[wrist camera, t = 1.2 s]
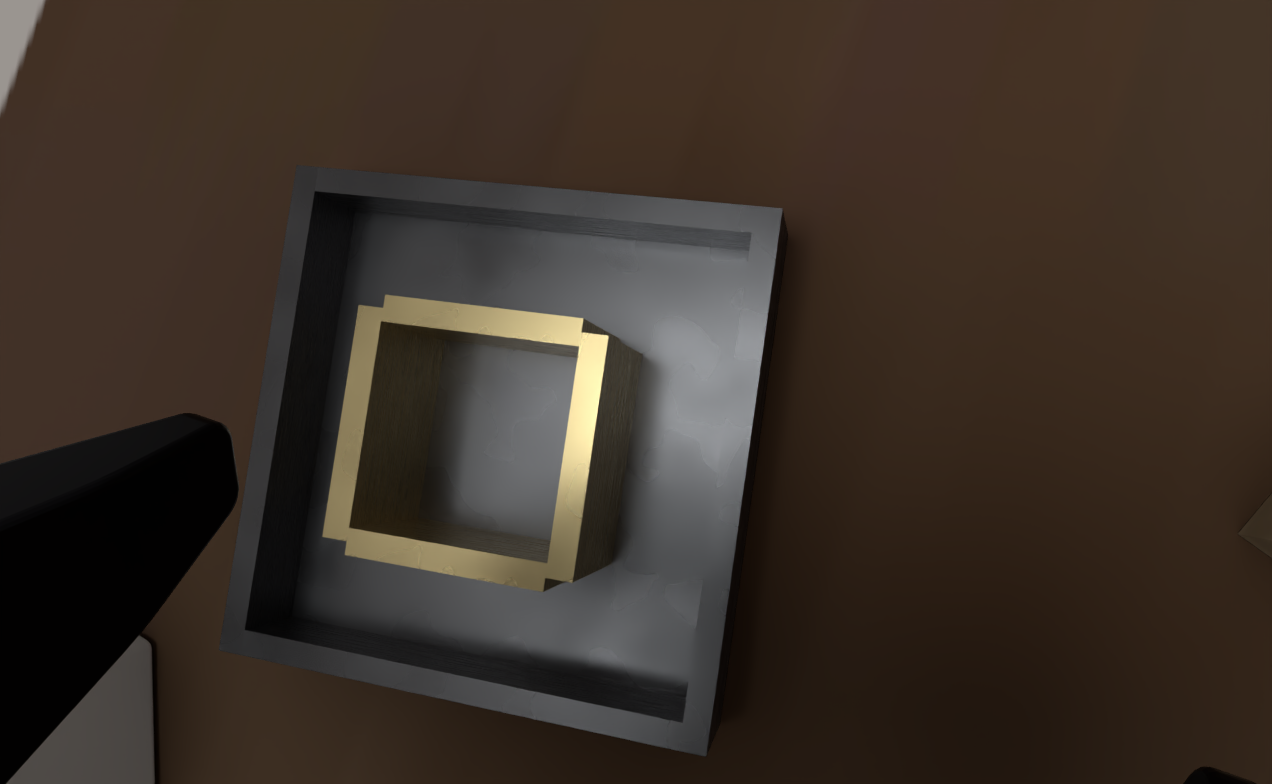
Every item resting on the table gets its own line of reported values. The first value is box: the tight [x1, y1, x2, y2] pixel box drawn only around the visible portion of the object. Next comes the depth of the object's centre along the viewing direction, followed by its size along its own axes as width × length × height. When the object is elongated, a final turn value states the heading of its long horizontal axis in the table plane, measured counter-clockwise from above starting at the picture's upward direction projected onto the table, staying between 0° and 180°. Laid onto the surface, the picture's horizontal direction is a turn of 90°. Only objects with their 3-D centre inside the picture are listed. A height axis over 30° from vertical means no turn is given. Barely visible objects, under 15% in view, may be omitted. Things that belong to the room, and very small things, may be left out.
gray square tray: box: [219, 165, 788, 757], centre depth 22 cm, size 12×12×4 cm
